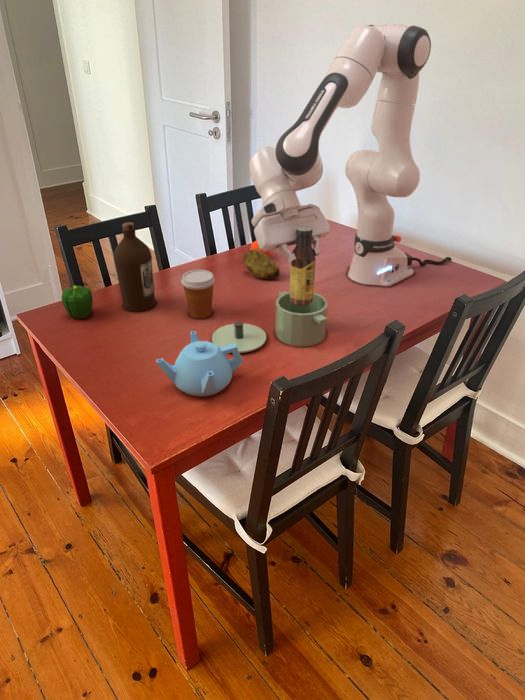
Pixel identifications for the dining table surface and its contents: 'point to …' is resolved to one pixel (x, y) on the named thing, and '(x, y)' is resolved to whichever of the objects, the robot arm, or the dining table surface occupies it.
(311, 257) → the sauce bottle
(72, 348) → the dining table surface
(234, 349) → the teapot
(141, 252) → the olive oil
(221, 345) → the lid
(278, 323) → the pot
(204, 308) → the disposable coffee cup
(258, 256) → the potato
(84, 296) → the bell pepper
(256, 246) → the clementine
